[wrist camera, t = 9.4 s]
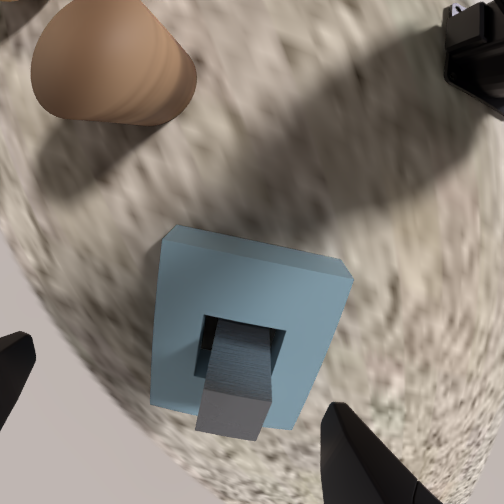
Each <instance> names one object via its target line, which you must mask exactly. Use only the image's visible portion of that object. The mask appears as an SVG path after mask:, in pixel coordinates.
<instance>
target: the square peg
mask: <svg viewBox="0 0 504 504" xmlns="http://www.w3.org/2000/svg"><path fill="white" fill-rule="evenodd" d="M271 404H272V383H271V359H270V336H269V327H264V326H259V325H254V324H248V323H243V322H238V321H233V320H228V319H223V318H219V319H218V324H217V328H216V333H215V337H214V342H213V347H212V351H211V356H210V360H209V365H208V370H207V374H206V379H205V383H204V388H203V393H202V398H201V403H200V408H199V413H198V418H197V423H196V428H195V430H196V431H201V432H206V433H211V434H216V435H221V436H227V437H232V438H238V439H244V440H251V441H256V440H257V437H258V435H259V433H260V430H261V428H262V426H263V423H264V421H265V419H266V416H267V414H268V411H269V409H270V406H271Z"/></svg>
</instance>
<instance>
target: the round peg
mask: <svg viewBox="0 0 504 504" xmlns="http://www.w3.org/2000/svg"><path fill="white" fill-rule="evenodd" d="M31 83H32V88H33V91H34V94H35V96H36V99H37V100H38V102H39V103H40V105H41V106H42V107H43V108H44V109H45V110H46V111H48V112H49V113H50V114H52V115H54V116H56V117H59V118H63V119H71V120H86V121H100V122H111V123H122V124H131V125H140V126H156V125H160V124H163V123H166V122H168V121H170V120H172V119H174V118H175V117H177V116H178V115H179V114H180V113H181V112H182V111H183V110H184V109H185V108H186V107H187V105H188V104H189V102H190V101H191V99H192V97H193V95H194V92H195V88H196V83H197V75H196V69H195V66H194V63H193V61H192V59H191V58H190V56H189V55H188V54H187V53H186V52H185V50H184V49H183V48H182V47H181V46H180V45H179V43H178V42H177V41H176V40H175V39H174V38H173V36H172V35H171V34H170V33H169V32H168V31H167V29H166V28H165V27H164V26H163V25H162V24H161V23H160V22H159V20H158V19H157V18H156V17H155V16H154V15H153V14H152V13H151V11H150V10H149V9H148V8H147V7H146V6H145V5H144V4H143V3H142V2H141V1H140V0H73V1H72V2H70V3H69V4H67V5H66V6H65V7H64V8H63V9H61V10H60V11H59V12H58V13H57V14H56V15H55V16H54V17H53V18H52V20H51V21H50V22H49V23H48V25H47V26H46V28H45V29H44V31H43V32H42V34H41V36H40V38H39V40H38V42H37V45H36V47H35V50H34V53H33V57H32V62H31Z"/></svg>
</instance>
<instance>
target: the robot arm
mask: <svg viewBox="0 0 504 504" xmlns="http://www.w3.org/2000/svg"><path fill="white" fill-rule="evenodd" d="M456 9H457V10H458V11H457V10H456ZM445 49H446V61H445V69H444V78H445V80H446V82H447V83H449V84H450V85H452V86H454V87H456V88H458V89H460V90H462V91H463V92H465V93H467V94H469V95H471V96H472V97H474V98H476V99H478V100H479V101H481V102H483V103H484V104H486V105H488V106H489V107H491V108H493V109H494V110H496V111H497V112H499V113H500V114H502V115H503V116H504V0H494V1H492V2H490V3H488V4H485V3H484V2H479V3H477V4H475V5H473V6H471V7H469V8H467V9H466V8H464V7H463V6H461V5H459V4H457V3H454V4H452V5H450V8H449V18H448V19H447V30H446V42H445ZM450 74H452V76H453V79H451V77H450ZM35 361H36V353H35V348H34V344H33V339H32V337H31V335H29V334H27V333H25V332H22V331H18V332H15V333H13V334H10V335H7V336H4V337H1V338H0V431H1V429H2V427H3V425H4V423H5V421H6V420H7V417H8V416H9V414H10V413H11V411H12V409H13V407H14V405H15V404H16V402H17V400H18V398H19V396H20V394H21V392H22V389H23V387H24V385H25V383H26V381H27V379H28V377H29V374H30V372H31V370H32V368H33V366H34V364H35ZM320 471H321V482H322V490H323V499H324V504H443V503H442V502H441V501H439V500H438V499H437V498H436V497H435V496H434V495H433V494H432V493H431V492H430V491H429V490H428V489H427V488H426V487H425V486H424V485H423V484H422V483H421V482H420V481H417V478H416V477H415V476H414V475H413V474H412V473H411V472H410V471H409V470H408V469H407V468H406V467H405V466H404V465H403V464H402V463H401V461H400V460H399V459H398V458H397V457H396V456H395V455H394V454H393V453H392V452H391V451H390V450H389V449H388V448H387V447H386V446H385V445H384V444H383V442H382V441H381V440H380V439H379V438H378V437H377V436H376V435H375V434H374V433H373V432H372V431H371V430H370V429H369V427H368V426H367V425H366V424H365V423H364V422H363V421H362V420H361V419H360V418H359V417H358V416H357V415H356V413H355V412H354V411H353V410H352V409H351V408H350V407H349V406H348V405H347V404H346V403H344V402H332V403H331V404H330V405H329V407H328V409H327V411H326V413H325V415H324V417H323V419H322V422H321V454H320Z"/></svg>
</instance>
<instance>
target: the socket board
mask: <svg viewBox="0 0 504 504" xmlns="http://www.w3.org/2000/svg"><path fill="white" fill-rule="evenodd" d="M353 281H354V279H353V277H352V275H351V274H350V272H349V271H348V269H347V268H346V266H345V265H344V263H343V262H342V260H341V259H337V258H332V257H327V256H323V255H318V254H314V253H309V252H304V251H300V250H295V249H290V248H286V247H281V246H276V245H272V244H267V243H262V242H258V241H253V240H248V239H243V238H239V237H234V236H229V235H224V234H220V233H215V232H210V231H205V230H200V229H195V228H191V227H186V226H181V225H176V226H175V227H174V228H173V229H172V230H171V231H170V232H169V233H168V234H167V235H166V236H165V237H164V238H163V239H162V246H161V254H160V263H159V272H158V282H157V292H156V303H155V315H154V329H153V344H152V363H151V389H150V404H151V405H154V406H158V407H162V408H166V409H170V410H174V411H178V412H183V413H187V414H192V415H196V416H198V413H199V408H200V403H201V398H202V393H203V388H204V383H205V379H206V374H207V370H208V365H209V360H210V356H211V351H210V350H205V349H201V345H202V339H203V333H204V327H205V321H206V315H209V316H214V317H219V318H223V319H228V320H233V321H238V322H243V323H248V324H254V325H259V326H264V327H270V328H275V329H276V331H275V334H274V338H273V341H272V344H271V347H270V359H271V383H272V404H271V406H270V409H269V411H268V414H267V416H266V419H265V421H264V423H263V426H262V427H268V428H276V429H285V430H292V429H293V427H294V424H295V422H296V420H297V418H298V416H299V414H300V412H301V410H302V408H303V405H304V403H305V401H306V399H307V397H308V394H309V392H310V390H311V388H312V385H313V383H314V381H315V379H316V376H317V374H318V372H319V369H320V367H321V365H322V362H323V360H324V357H325V355H326V353H327V350H328V348H329V345H330V343H331V340H332V338H333V335H334V333H335V330H336V327H337V325H338V322H339V320H340V317H341V314H342V312H343V309H344V306H345V303H346V301H347V298H348V295H349V292H350V289H351V287H352V284H353Z"/></svg>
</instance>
